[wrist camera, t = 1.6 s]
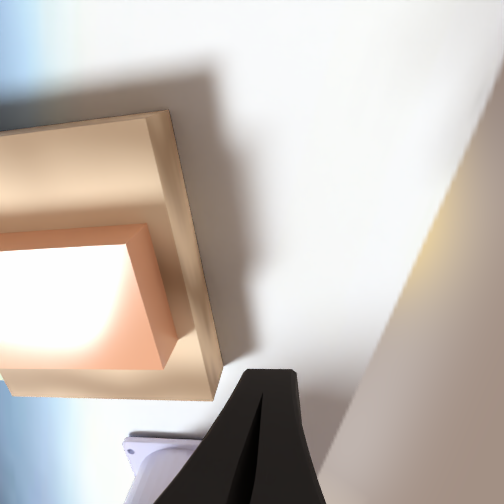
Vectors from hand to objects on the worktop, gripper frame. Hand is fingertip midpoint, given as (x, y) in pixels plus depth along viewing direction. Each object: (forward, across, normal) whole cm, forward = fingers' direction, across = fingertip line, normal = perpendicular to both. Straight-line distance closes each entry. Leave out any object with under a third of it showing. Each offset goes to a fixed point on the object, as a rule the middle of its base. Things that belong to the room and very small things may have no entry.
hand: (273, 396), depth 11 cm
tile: (+6, +10, 0) cm, 12 cm away
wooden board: (+9, +10, 0) cm, 14 cm away
